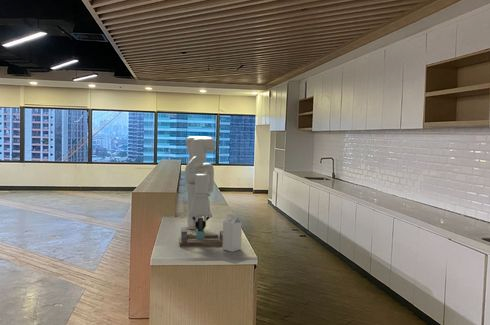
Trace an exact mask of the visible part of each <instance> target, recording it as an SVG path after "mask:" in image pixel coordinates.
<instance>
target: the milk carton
mask: <svg viewBox="0 0 490 325" xmlns="http://www.w3.org/2000/svg"><path fill="white" fill-rule="evenodd" d="M242 227H243V226H242V221H241V220H240V218H239V216H238V215H237V214H232V213H227V216H226V217H225V218H224V220H223V221H222V231H223V246H222V250H224V251H228V252H231V253H233V252H236V251H239V250H242Z"/></svg>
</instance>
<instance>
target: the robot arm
mask: <svg viewBox="0 0 490 325" xmlns="http://www.w3.org/2000/svg"><path fill="white" fill-rule="evenodd" d="M185 146H186V150H187V152H188V153H187V154H188V156H189V157H188V158H189V160H188V162H187V164H186V166H185V170H184V180H185V181H184V182H185V183H186V184H185V185H186V193H187V222H186V223H187V224H185V225H184V228H187V230H197V229H198V218H203V229H204V230H205V228H206V227H207V221H208V220H209V219H211V218H212V217H213V214H212V212H211V204H210V203H211V202H210V198H209V197H211V194H213V192H214V186H215V183H214V181H215V180H214V179H215V177H214V176H215V174H214V173H215V169H214V165H213V164H212V163H211V162H206V161H207V152H208V153H213V152H215V150H216V141H215V139H214V138H213V137H212V136H198V135H197V136H194V135H193V136H188V137H187V138H186V139H185Z"/></svg>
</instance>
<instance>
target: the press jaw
mask: <svg viewBox="0 0 490 325" xmlns="http://www.w3.org/2000/svg"><path fill="white" fill-rule="evenodd" d="M203 221H204V217H202V218H198V229H196V231H195V232H196V234H195V235H196V239H204V235H205V229H203Z"/></svg>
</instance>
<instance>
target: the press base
mask: <svg viewBox="0 0 490 325" xmlns="http://www.w3.org/2000/svg"><path fill="white" fill-rule="evenodd" d="M180 228H181V229H180V237H179V238H178V240H179V242H178V243H179V247H223V230H219V235H218V234H204V239H196V234H193V233H188V229H187V228H185V227H180Z"/></svg>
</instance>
